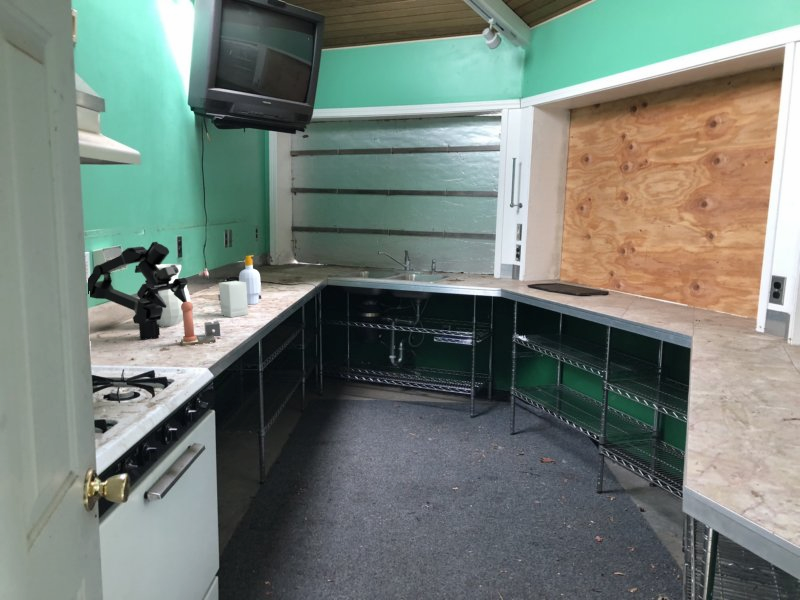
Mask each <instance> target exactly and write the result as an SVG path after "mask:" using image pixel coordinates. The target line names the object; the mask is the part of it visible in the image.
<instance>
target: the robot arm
mask: <svg viewBox="0 0 800 600" xmlns="http://www.w3.org/2000/svg"><path fill="white" fill-rule="evenodd" d="M169 254H170V250H169V248H168V247H167V246H165V245H163V244H161V243H159V242H158V241H152V242H151V243H150V246H149V247H148V249H146V248H145V246H135V247H134V246H131V247H127V248H125V249H124V250H123V251H121V254H120V255H118V256H116V257H114V258H112V259H109V260H107V261H105V262H103V263H100V264H97V265H94V267H93V270H92V272H91V274H90V275H89V277H88V278H87V279H88V294H89V291H90V297H89V298H92V299H97V300H99V299H101V300H103V299H104V300H107V301H110V302H111V303H112V302H113V303H114V304H117V305H119V306H122V307H125V308H127V309H129V310H132V311H134V315H133V317H132V321H133V323H134V324H138V331H139V340H150V338H152V339H157V338H160V334H161V333H160V332H161V331H160V326H159V324H157V320H160V319H161V315H162V312H163V308H166V307H167V306H166V304H165V302H164V301H163V299H162V298H161V296H160V295H159V293H158V291H164V290H169V289H171V291H172V292H174V295H175V296H176V297H177V298H178V299H180V300H181V301H182V302H183V303H184V302H187V299H186V296H185V292H184V287H185V286H186V285H188V283H189V281H188V280H187V279H186V277H182V278H181V277H180V278H179V277H178V278H177V279H175V280H174V282H173V283H170V284H169V281H171V277H172V276H174V275H176V274H177V273H178V272H179V270H178V268H177V267H176V266H175V265H171V266H170V267H165V268H162V269H161V270H159V268H158V267H157V266H156V265H160V264H163V261H164V260H165V259H166V258H167V257H168V255H169ZM136 263H137V264H138V265H137V264H136ZM132 264H136V265H135V269H134V273H135V274H137V273H141V274H142V276H143V277H144V278H145V282H146V284H145V283H142V284H141V285H140V288H139V289H138V290H137V293H136V295H137V297H135V296H132V295H130V294H127V293H125V292H123V291H120V290H117V289H115V288H114V287H113V285H112V281H113V279H112V277H111V273H112V272H115V271H116V270H119V269H122V268H124V267H125V266H129V265H132ZM101 276H103V280H100V278H101ZM162 307H163V308H162Z"/></svg>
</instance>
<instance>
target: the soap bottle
mask: <svg viewBox="0 0 800 600" xmlns="http://www.w3.org/2000/svg"><path fill="white" fill-rule="evenodd" d="M254 256H255V255H246V256H245V259H244V267H245V269H242V270H241V271H240V272H239V274H238V275H239V276H238V281H240V282H246V289H247V304H248V306H253V305H258V304H259V303H260V297H259V296H260V295H259V294H260V293H261V292H262V285H261V284H262V283H261V275H260V272H259V270H257V269H255V268H254V267H253V266H254V264H253V258H252V257H254Z"/></svg>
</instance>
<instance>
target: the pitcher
mask: <svg viewBox="0 0 800 600" xmlns="http://www.w3.org/2000/svg"><path fill="white" fill-rule="evenodd" d="M171 265H175V266H176V267H177V268H178V270H179V272H178V273H177V274H176V275H174V276H172V277H171V281H169V284H170V283H173V282H174V280H175V279H177V278H179V275H180V273H181V270H182V265H181V264H180V263H161V264H160V265H156V266H157V267H158V268H159V270H161V269H162V268H165V267H170V266H171ZM180 278H183V277H180ZM144 284H146V282H145V283H144ZM184 292H185V296H186V299H187V302H190V303H191V296H190V291H189V289H188V284H186V286H185V287H184ZM158 293H159V295H160V296H161V298H162V299H163V301H164V302H165V304H166V306H167V307H166V308H163V307H162V308H163V312H162V315H161V319H160V320H157V324H159V327H160V326H165V327H173V325H174V326H177V324H178V325H180V323H181V322H182V321H183V311H182V309H181V305H182V303H183V302H182V301H181V300H180V299H178V298H177V297H176V296H175V295H174V292H172V291H171V289H169V290H164V291H158Z"/></svg>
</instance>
